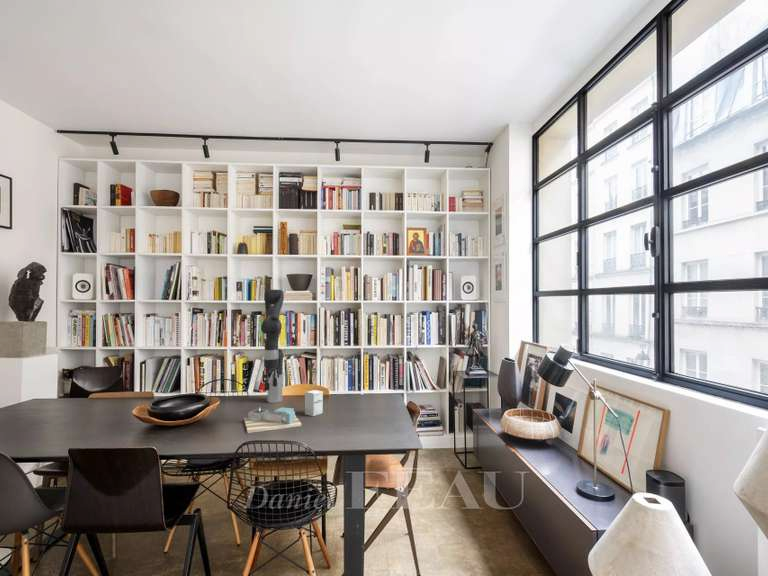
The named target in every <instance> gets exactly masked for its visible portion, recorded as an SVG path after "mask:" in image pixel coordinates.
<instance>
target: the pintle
mask: <svg viewBox="0 0 768 576" xmlns="http://www.w3.org/2000/svg"><path fill="white" fill-rule="evenodd" d="M256 409H257V413H261V409H262V407H261V406H257V407H256Z"/></svg>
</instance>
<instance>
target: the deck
mask: <svg viewBox="0 0 768 576" xmlns="http://www.w3.org/2000/svg"><path fill="white" fill-rule="evenodd" d="M243 420H244V421H243V422H244V425H245V429H246V433H247V434H251V433H257V432H259V433H260V432H266V431H271V430H272V431H273V430H282V429H289V428H295V427H302V422H301V421H300V419H299V418H298V417H297V416H296V415H295V421H294V422H293V423H291V424H286V421H284V422H282V423H278V422H269V421H261V422H259V421H250V420H248V417H244V418H243Z"/></svg>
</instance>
